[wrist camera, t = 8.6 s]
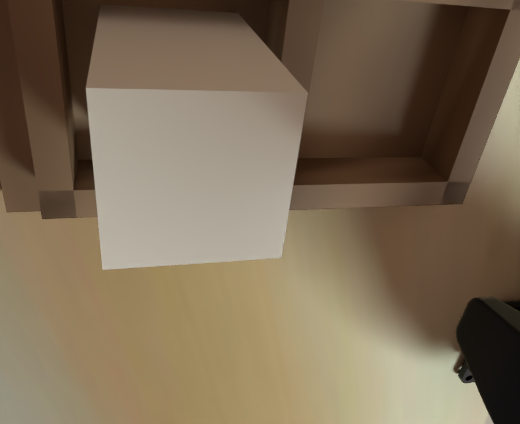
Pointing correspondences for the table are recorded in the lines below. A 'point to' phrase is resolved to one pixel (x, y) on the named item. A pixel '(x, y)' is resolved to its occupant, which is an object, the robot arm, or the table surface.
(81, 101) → the sorting tray
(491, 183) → the table surface
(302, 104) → the white rectangular block
